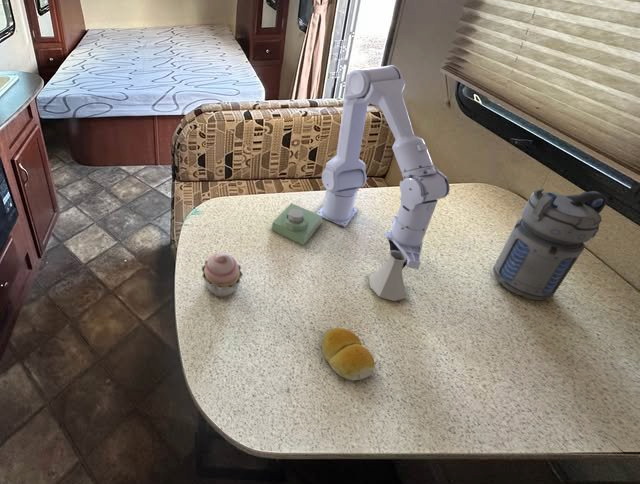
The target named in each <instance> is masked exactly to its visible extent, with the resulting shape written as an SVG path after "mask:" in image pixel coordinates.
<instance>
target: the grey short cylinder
mask: <svg viewBox="0 0 640 484" xmlns="http://www.w3.org/2000/svg"><path fill="white" fill-rule="evenodd" d="M288 219H289V221H291V222H293V223H301V222H302V219H303V212H302V211H301V210H299V209H291V210H289V214H288Z"/></svg>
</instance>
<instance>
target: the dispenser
mask: <svg viewBox="0 0 640 484" xmlns="http://www.w3.org/2000/svg"><path fill="white" fill-rule="evenodd" d="M291 209H299V210H301V211H302V212H303V219H302V222H301V223H293V222H291V221H289V219H288V214H289V210H291ZM322 220H323V218H322V216H321V215H318V214H317V212H314V211H311V210H309V209H307V208H304V207H302V206H299V205H297V204H295V203H292V202H290V204H289V205H288V206H287V207H286V208H284V210H283V211H282V212H281V213H280V214H279V215H278V216H277V217H276V218H275V219H274V220H273V221H272V226H271V231H273V232H275V233H277V234H279V235H281V236H283V237H285V238H287V239H289V240H292V241H293V242H296V243H297V244H299V245H301V246H305V244H306V243H307V242H308V241H309V239H310V238H311V237H312V236H313V234H314V233H315V232H316V230H317V229H319V227H320V226H321V225H322Z"/></svg>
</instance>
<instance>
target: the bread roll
mask: <svg viewBox="0 0 640 484" xmlns="http://www.w3.org/2000/svg"><path fill="white" fill-rule="evenodd" d="M321 352H322V355H323V357H324V359H325V361H326V362H327V363H328V365H329V366H330V368H331V369H332V370H333V371H334V372H335V373H336V374H337V375H338V376H340V377H341V378H343V379H345V380H349V381H351V382H354V381H361V380H363V379H367V378H369V377H370V376H372V375H373V374H374V369H375V365H376V363H375V359H374V357H373V354H372V353H371V352H370V351H369V350H368V349H367V348H366V347H364V346H363V344H362V341H361V339H360V337H359V336H358V335H357V334H355V333H354V332H352V331H351V330H350V329H346V328H341V327H337V328H331V329H329V330H327V332H325V334H324V335H323V337H322V340H321Z"/></svg>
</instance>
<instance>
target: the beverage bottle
mask: <svg viewBox="0 0 640 484" xmlns="http://www.w3.org/2000/svg"><path fill="white" fill-rule="evenodd" d="M543 191H545V188H540V189H536V190H535V191H533V192H532V193H531V194H530V197H529V198H528V200H527V201H526V203H525V205H524V207H523V210H522V211H521V214H520V216H521V218H519V219H518V220H517V221H516V223H515V224H514V226H513V228H512V230H511V232H510V233H509V236H508V238H507V240H506V242H505V243H504V246H503V247H502V250H501V251H500V253H499V255H498V257H497V259H496V261H495V263H494V264H493V266H492V270H493V275H494V277H495V279H496V280H497V282H498V283H499V284H500V285H502V287H504V288H505V289H507V290H508V291H510V292H512V293H513V294H515V295H517V296H522V298H525V299H529V300H533V301H543V300H547V299H551V298H552V297H554V295H555V294H556V292H557V291H558V290H559V288H560V287H561V285H562V283H563V282H564V280H565V278H566V277H567V275H568V274H569V273H570V271H571V270H572V268H573V267H574V265H575V263H577V260H578V259H579V257H580V256H581V254H582V253H583V251H584V250H585V247H586V244H585V243H588V242H589V241H590V240H591V239H594V237H596V235H597V233H598V232H599V230H600V229H599V228H600V224H601V222H602V216H601V214H600V213H601V212H602V211H603V210H604V208H605V206H606V205H607V204H608V202H609V199H608V198H607V197H606V196H605V195H604V194H603V193H601V192H599V191H596V190H595V191H584V192H582V193H579V194H571V195H563V194H559V193H554V192H543Z"/></svg>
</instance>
